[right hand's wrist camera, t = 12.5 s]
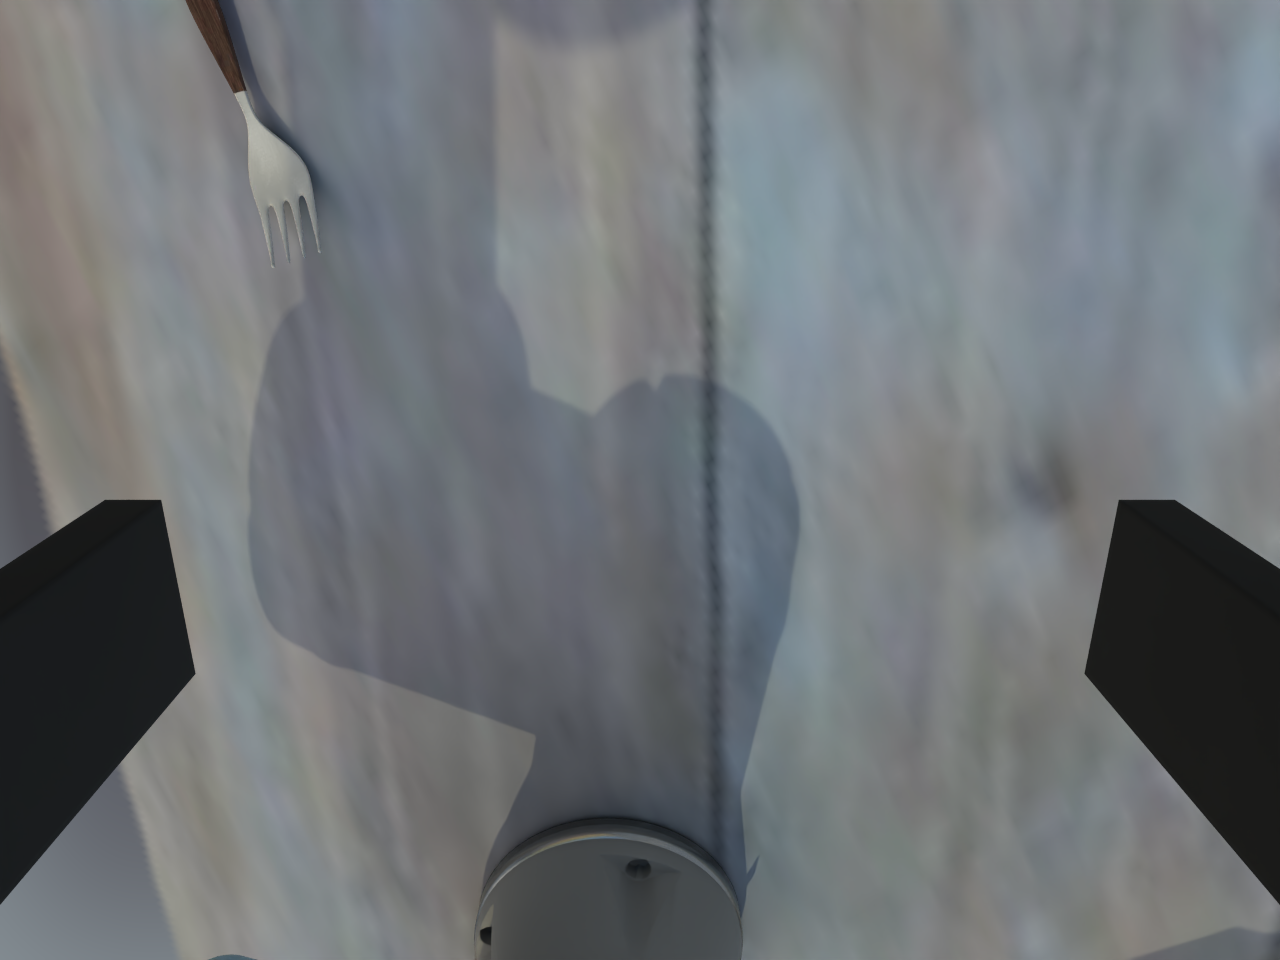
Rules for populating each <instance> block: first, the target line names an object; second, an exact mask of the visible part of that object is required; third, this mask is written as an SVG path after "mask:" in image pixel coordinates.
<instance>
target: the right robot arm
mask: <svg viewBox="0 0 1280 960" xmlns="http://www.w3.org/2000/svg"><path fill="white" fill-rule="evenodd" d="M194 675H195V669H194V664H193V659H192V654H191V649H190V644H189V639H188V634H187V629H186V624H185V618H184V613H183V608H182V603H181V598H180V593H179V588H178V583H177V578H176V573H175V568H174V563H173V558H172V553H171V548H170V543H169V538H168V533H167V528H166V522H165V517H164V512H163V507H162V502H161V500H104V501H103V502H101V503H100V504H98V505H97V506H95V507H94V508H92V509H91V510H89V511H88V512H86V513H85V514H83V515H82V516H80V517H78V518H77V519H75V520H74V521H72V522H71V523H69V524H68V525H66V526H65V527H63V528H62V529H60V530H59V531H57V532H56V533H54V534H53V535H51V536H50V537H48V538H47V539H45V540H44V541H42V542H41V543H39V544H37V545H36V546H34V547H33V548H31V549H30V550H28V551H27V552H25V553H24V554H22V555H21V556H19V557H18V558H16V559H15V560H13V561H12V562H10V563H9V564H7V565H6V566H4V567H2V568H1V569H0V904H1V903H2V902H3V901H4V899H5V898H6V897H7V896H8V895H9V894H10V892H11V891H12V890H13V889H14V888H15V887H16V885H17V884H18V883H19V882H20V881H21V879H22V878H23V877H24V876H25V875H26V873H27V872H28V871H29V870H30V869H31V868H32V866H33V865H34V864H35V863H36V862H37V861H38V859H39V858H40V857H41V856H42V855H43V853H44V852H45V851H46V850H47V849H48V847H49V846H50V845H51V844H52V843H53V842H54V840H55V839H56V838H57V837H58V836H59V834H60V833H61V832H62V831H63V830H64V829H65V827H66V826H67V825H68V824H69V823H70V821H71V820H72V819H73V818H74V817H75V816H76V814H77V813H78V812H79V811H80V810H81V808H82V807H83V806H84V805H85V804H86V803H87V801H88V800H89V799H90V798H91V797H92V795H93V794H94V793H95V792H96V791H97V790H98V788H99V787H100V786H101V785H102V784H103V782H104V781H105V780H106V779H107V778H108V777H109V775H110V774H111V773H112V772H113V771H114V769H115V768H116V767H117V766H118V765H119V764H120V762H121V761H122V760H123V759H124V758H125V756H126V755H127V754H128V753H129V752H130V751H131V749H132V748H133V747H134V746H135V745H136V743H137V742H138V741H139V740H140V739H141V738H142V736H143V735H144V734H145V733H146V732H147V730H148V729H149V728H150V727H151V726H152V725H153V723H154V722H155V721H156V720H157V719H158V717H159V716H160V715H161V714H162V713H163V712H164V710H165V709H166V708H167V707H168V706H169V704H170V703H171V702H172V701H173V700H174V699H175V697H176V696H177V695H178V694H179V693H180V691H181V690H182V689H183V688H184V687H185V686H186V684H187V683H188V682H189V681H190V680H191V678H192V677H193V676H194ZM1085 675H1086V676H1087V677H1088V678H1089V680H1090V681H1091V682H1092V683H1093V684H1094V686H1095V687H1096V688H1097V689H1098V690H1099V691H1100V693H1101V694H1102V695H1103V696H1104V697H1105V699H1106V700H1107V701H1108V702H1109V703H1110V704H1111V706H1112V707H1113V708H1114V709H1115V710H1116V712H1117V713H1118V714H1119V715H1120V716H1121V717H1122V719H1123V720H1124V721H1125V722H1126V723H1127V725H1128V726H1129V727H1130V728H1131V729H1132V730H1133V732H1134V733H1135V734H1136V735H1137V736H1138V738H1139V739H1140V740H1141V741H1142V742H1143V743H1144V745H1145V746H1146V747H1147V748H1148V749H1149V751H1150V752H1151V753H1152V754H1153V755H1154V756H1155V758H1156V759H1157V760H1158V761H1159V762H1160V764H1161V765H1162V766H1163V767H1164V768H1165V769H1166V771H1167V772H1168V773H1169V774H1170V775H1171V777H1172V778H1173V779H1174V780H1175V781H1176V782H1177V784H1178V785H1179V786H1180V787H1181V788H1182V790H1183V791H1184V792H1185V793H1186V794H1187V795H1188V797H1189V798H1190V799H1191V800H1192V801H1193V803H1194V804H1195V805H1196V806H1197V807H1198V808H1199V810H1200V811H1201V812H1202V813H1203V814H1204V816H1205V817H1206V818H1207V819H1208V820H1209V821H1210V823H1211V824H1212V825H1213V826H1214V827H1215V829H1216V830H1217V831H1218V832H1219V833H1220V835H1221V836H1222V837H1223V838H1224V839H1225V840H1226V842H1227V843H1228V844H1229V845H1230V846H1231V848H1232V849H1233V850H1234V851H1235V852H1236V853H1237V855H1238V856H1239V857H1240V858H1241V859H1242V861H1243V862H1244V863H1245V864H1246V865H1247V866H1248V868H1249V869H1250V870H1251V871H1252V872H1253V874H1254V875H1255V876H1256V877H1257V878H1258V879H1259V881H1260V882H1261V883H1262V884H1263V885H1264V887H1265V888H1266V889H1267V890H1268V891H1269V892H1270V894H1271V895H1272V896H1273V897H1274V898H1275V900H1276V901H1277V902H1278V903H1279V904H1280V569H1279V568H1278V567H1276V566H1274V565H1273V564H1271V563H1270V562H1268V561H1267V560H1265V559H1264V558H1262V557H1261V556H1259V555H1258V554H1256V553H1255V552H1253V551H1252V550H1250V549H1249V548H1247V547H1246V546H1244V545H1243V544H1241V543H1240V542H1238V541H1236V540H1235V539H1233V538H1232V537H1230V536H1229V535H1227V534H1226V533H1224V532H1223V531H1221V530H1220V529H1218V528H1217V527H1215V526H1214V525H1212V524H1211V523H1209V522H1208V521H1206V520H1205V519H1203V518H1202V517H1200V516H1198V515H1197V514H1195V513H1194V512H1192V511H1191V510H1189V509H1188V508H1186V507H1185V506H1183V505H1182V504H1180V503H1179V502H1177V501H1176V500H1119V502H1118V507H1117V512H1116V517H1115V522H1114V528H1113V533H1112V538H1111V543H1110V548H1109V553H1108V558H1107V563H1106V568H1105V573H1104V578H1103V583H1102V588H1101V593H1100V598H1099V603H1098V608H1097V613H1096V618H1095V624H1094V629H1093V634H1092V639H1091V644H1090V649H1089V654H1088V659H1087V664H1086V669H1085ZM474 941H475V958H476V960H741V954H742V945H743V937H742V926H741V918H740V910H739V905H738V900H737V897H736V894H735V891H734V889H733V886H732V884H731V882H730V880H729V879H728V877H727V875H726V874H725V872H724V871H723V870H722V868H721V867H720V866H719V864H718V863H717V862H716V861H715V860H714V859H713V858H712V857H711V856H710V855H709V854H708V853H707V852H705V851H704V850H703V849H702V848H701V847H699V846H698V845H696V844H695V843H693V842H692V841H690V840H689V839H687V838H685V837H683V836H681V835H680V834H677V833H675V832H673V831H671V830H668V829H666V828H663V827H660V826H657V825H653V824H650V823H646V822H641V821H635V820H629V819H618V818H599V819H587V820H580V821H575V822H570V823H566V824H562V825H559V826H556V827H553V828H550V829H548V830H546V831H543V832H541V833H539V834H537V835H535V836H533V837H531V838H529V839H528V840H526V841H525V842H523V843H522V844H520V845H519V846H517V847H516V848H515V849H514V850H512V851H511V852H510V853H509V854H508V855H507V856H506V857H505V858H504V859H503V860H502V861H501V862H500V863H499V865H498V866H497V867H496V868H495V870H494V871H493V873H492V874H491V876H490V878H489V879H488V882H487V884H486V886H485V888H484V891H483V894H482V897H481V901H480V906H479V911H478V915H477V920H476V925H475V935H474ZM209 960H256V959H252V958H248V957H244V956H241V955H222V956H217V957H215V958H212V959H209Z"/></svg>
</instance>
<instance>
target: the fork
mask: <svg viewBox="0 0 1280 960" xmlns="http://www.w3.org/2000/svg"><path fill="white" fill-rule="evenodd" d="M186 2H187V5H188V7H189V9H190V11H191V13H192V16H193V18H194V20H195V22H196V24H197V26H198V28H199V29H200V31H201V33H202V35H203V37H204V39H205V41H206V43H207V45H208V46H209V48H210V50H211V52H212V54H213V56H214V57H215V59H216V61H217V63H218V65H219V67H220V68H221V70H222V72H223V74H224V76H225V78H226V80H227V81H228V83H229V85H230V87H231V89H232V91H233V93H234V94H235V96H236V98H237V100H238V102H239V104H240V106H241V108H242V111H243V113H244V115H245V118H246V122H247V127H248V170H249V178H250V184H251V188H252V192H253V195H254V198H255V201H256V204H257V207H258V210H259V213H260V217H261V221H262V224H263V229H264V233H265V237H266V241H267V245H268V250H269V254H270V259H271V266H272V268H275V262H274V253H273V243H272V235H271V227H270V220H269V207H270V206H273V207H274V209H275V212H276V215H277V218H278V223H279V227H280V231H281V235H282V239H283V243H284V247H285V252H286V256H287V261H288V263H290V253H289V244H288V236H287V228H286V220H285V214H284V202H285V201H288V202H289V204H290V206H291V209H292V212H293V216H294V220H295V224H296V228H297V232H298V236H299V241H300V245H301V249H302V254H303V257H304V258H306V254H305V244H304V236H303V228H302V220H301V213H300V206H299V198H300V196H304V198H305V200H306V203H307V206H308V210H309V214H310V217H311V221H312V225H313V229H314V233H315V237H316V242H317V246H318V252H319V253H322V251H321V244H320V235H319V227H318V219H317V212H316V206H315V200H314V194H313V188H312V183H311V178H310V174H309V171H308V169H307V167H306V165H305V163H304V162H303V160H302V159H301V157H300V156H299V155H298V154H297V153H296V152H295V151H294V150H293V149H292V148H291V147H290V146H289V145H287V144H286V143H285V142H284V141H283V140H281V139H280V138H279V137H277V136H276V135H275V134H274V133H272V132H271V131H270V130H269V129H268V128H267V127H265V126H264V125H263V124H262V123H261V121H260V120H259V119H258V118H257V116H256V114H255V112H254V110H253V108H252V105H251V103H250V100H249V97H248V94H247V90H246V87H245V84H244V81H243V77H242V74H241V71H240V67H239V64H238V61H237V57H236V54H235V51H234V47H233V44H232V41H231V37H230V34H229V31H228V28H227V25H226V22H225V19H224V16H223V13H222V10H221V7H220V5H219V2H218V0H186Z"/></svg>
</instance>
